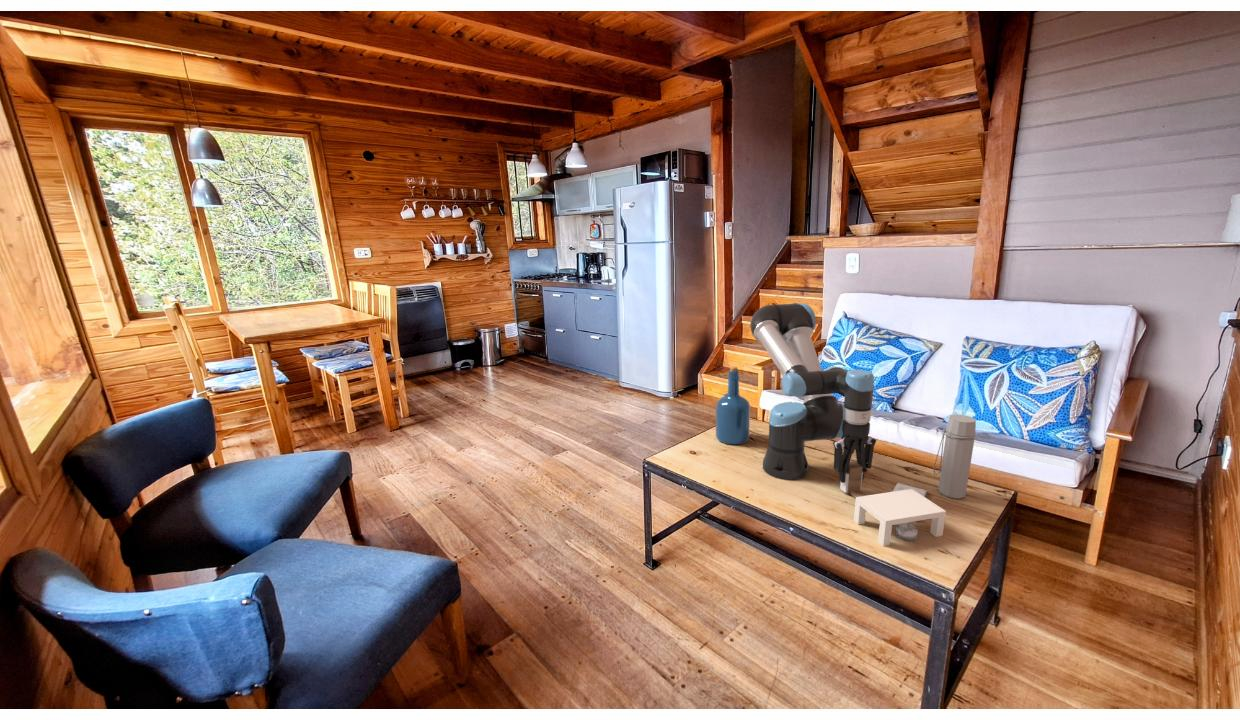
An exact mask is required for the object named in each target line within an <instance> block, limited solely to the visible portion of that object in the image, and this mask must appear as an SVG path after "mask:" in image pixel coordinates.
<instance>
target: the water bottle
mask: <svg viewBox="0 0 1240 720" xmlns="http://www.w3.org/2000/svg"><path fill="white" fill-rule="evenodd" d="M976 422H977V421H976V418H974V417H972V416H969V415H967V414H959V413H957V414H951V415H949V417H948V421H947V423H946V429H942V433H941V434H942V436H941V440H940V443H939V447H938V451H937V454H936V457H935V461H934V463H933V475H935V476H939V481H938V482H939V483H938V492H939V493H940V494H942V495H943V496H945V497H947V498H951V499H963V498H964V497H966V495H967V490H968V489H967V488H968V483H969V475H970V470H971V462H972V457H973V450H974V446H975V445H974V443H975V438H976V424H977V423H976ZM940 449H941V453H940ZM939 454H940V461H939V470H938V471H939V472H938V473H936V469H935V468H936V463H937V461H938V457H939Z"/></svg>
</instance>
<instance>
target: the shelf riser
mask: <svg viewBox="0 0 1240 720" xmlns="http://www.w3.org/2000/svg"><path fill="white" fill-rule="evenodd" d="M866 512H867V513H869V514H870V515H871V516H872V517H873V518H875V519H876V520H877V521H878V522H879V529H878V538H877V543H879V544H880V545H881V546H882V547H886V546H890V545H891V538H892V529H893V525H894V526H895V525H897V524H901V523H913V522H919V521H924V520H930V519H931V524H930V531H929V532H930V534H931V535H933V537H936V538H938V537H943V534H944V528H945V521H946V516H947V515H946V514H947V511H946V510H945V509H943V508H942V507H941V506H939V505H937V504H936V503H934V502H933V501H931V500H929V499H928V498H927V497H926V496H925V497H924V496H922V495H920V494H919V493H917V492H916V491H914V490H913V489H907V490H901V491H894V492H892V491H889V492H888V491H887V492H882V493H876V494H875V493H874V494H870V495H869V494H868V495H867V496H861V497H856V498H855V502H854V515H853V522H855V523H856V524H857V525H864V524H866V523H865V521H866Z"/></svg>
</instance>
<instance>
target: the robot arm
mask: <svg viewBox="0 0 1240 720" xmlns="http://www.w3.org/2000/svg"><path fill="white" fill-rule="evenodd" d="M816 319H817V318H816V315H815V311H814V310H813V308H812V307H811V306H810V305H809V304H808V303H804V302H801V303H800V302H793V303H784V304H783V303H780V304H766V305H764V306H761V307H760V308H759V309H758V310H756V311H755V312H754V314H753V315H752V317H751V320H750V326H749V327H750V331H751V334H752V336H753V338H754V339H755V340H756V342H758V343H761V345H762V346H763V348H764V349H765V351H766V352H767V354H768V355H769V357H770V359H771V360H772V361H773V363H774V365H775V366H776V367H777V369H778V371H779V372H780V373H781V375H782V378H781V388H782V391H783V393H784V394H785V395H786V396H787V397H797V398H800V397H803V398H804V401H803V403H801V402H797V401H793V402H792V401H787V402H780V403H778V404H776V405H774V406H773V407H772V408H771V409H770V411H769V412H770V413H769V419H768V423H769V426H768V430H769V431H768V433H769V434H768V448H767V450H766V452H765V454H764V457H763V459H762V469H763V471H764V473H766V474H768V475H770V476H771V477H774V478H777V479H782V480H799V479H803V478H805V477H806V476H807V475H808V473H809V462H808V460H807V456H806V452H805V442H811V441H813V442H814V441H823V440H834V441H833V442H832V444H833V445H832V446H833V448H834V452H833V454H834V456H833V469H834V470H835V471H836V472H837V473H839V477H838V480H839V482H840V487H839V488H840V490H841V491H842V492H844V493H845V494H847V493H848V482H849V473H847V471H848V467H849V463H850V461H852V460H851V459H852V455H854V453H855V457H856V463H858V464H859V465H861V466H862V477H861V488H860V491H861V492H862V485H863V480H865V474H866V473H868V469H872V464H873V456H874V448H875V446H876V445H875V444H876V443H877V439H875V438H874V437H873V436H869V435H870V429H871V423H870V422H871V417H872V406H873V398H874V397H873V395H874V389H875V384H874V383H875V382H874V381H875V379H874V378H875V376H874V373H872V372H871V371H868V370H864V369H849V370H847V369H844V368H842V367H839V366H834V365H833V366H829V367H827V368H825V369H824V370H823V369H822V367H821V364H820V360H819V358H818V354H817V352H816V349H815V346H814V343H813V340H812V335H813V334H814V330H815V329H816V323H817V321H816ZM833 394H838V395H840V396H842V397H844V401H843V403H839V402H838V399H837V397H836V396H835V395H833ZM840 438H841V439H840ZM835 439H840V440H838V441H836V440H835Z"/></svg>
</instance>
